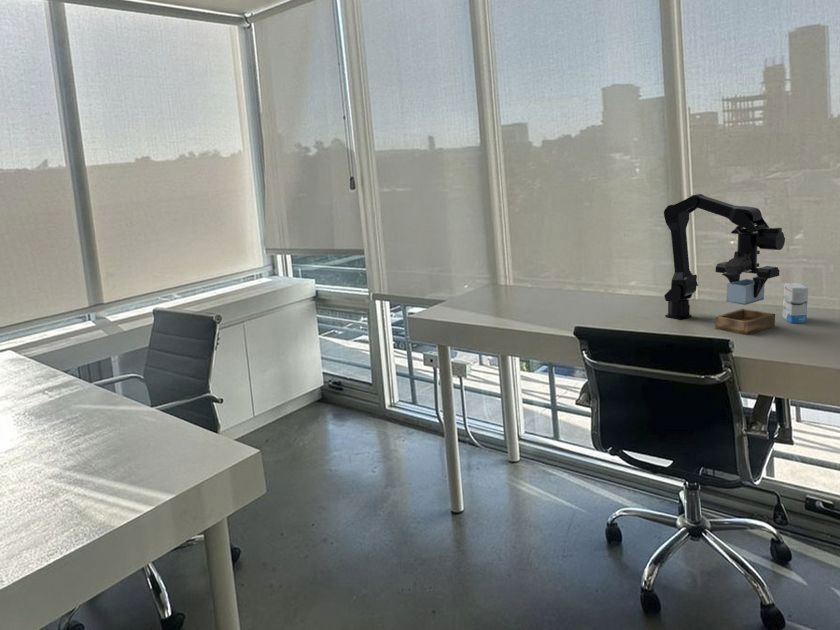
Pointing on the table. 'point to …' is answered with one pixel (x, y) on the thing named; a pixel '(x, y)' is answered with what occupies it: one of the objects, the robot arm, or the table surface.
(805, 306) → the ink box
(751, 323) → the walnut crate
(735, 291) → the blue crate
